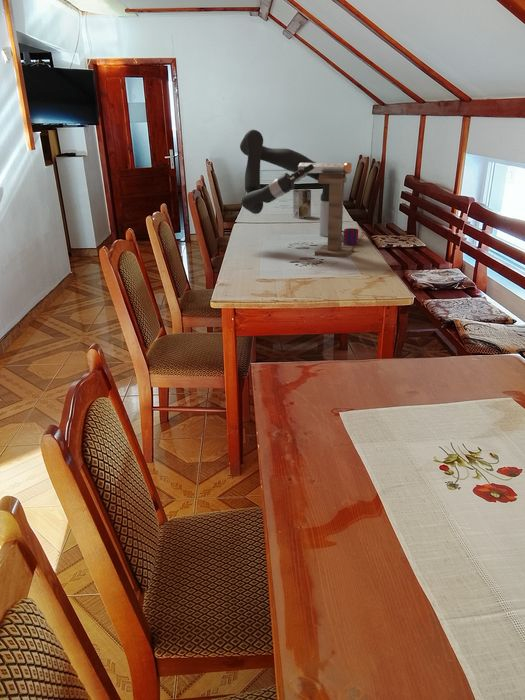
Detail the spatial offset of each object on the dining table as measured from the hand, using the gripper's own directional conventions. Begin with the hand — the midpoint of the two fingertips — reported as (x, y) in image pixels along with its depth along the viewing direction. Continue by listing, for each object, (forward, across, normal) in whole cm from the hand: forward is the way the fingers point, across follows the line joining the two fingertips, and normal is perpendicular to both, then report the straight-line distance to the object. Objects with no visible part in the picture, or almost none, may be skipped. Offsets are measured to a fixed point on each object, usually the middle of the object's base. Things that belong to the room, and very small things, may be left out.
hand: (314, 165), depth 228 cm
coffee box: (-47, +86, +16) cm, 99 cm away
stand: (-10, 0, +37) cm, 38 cm away
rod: (+2, +1, +5) cm, 5 cm away
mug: (-9, +20, +38) cm, 43 cm away
